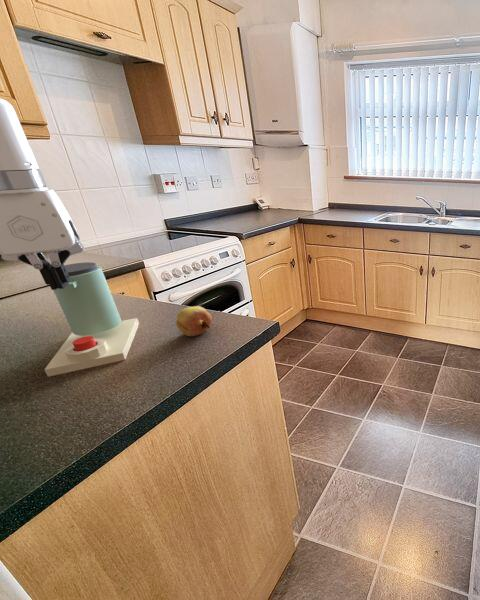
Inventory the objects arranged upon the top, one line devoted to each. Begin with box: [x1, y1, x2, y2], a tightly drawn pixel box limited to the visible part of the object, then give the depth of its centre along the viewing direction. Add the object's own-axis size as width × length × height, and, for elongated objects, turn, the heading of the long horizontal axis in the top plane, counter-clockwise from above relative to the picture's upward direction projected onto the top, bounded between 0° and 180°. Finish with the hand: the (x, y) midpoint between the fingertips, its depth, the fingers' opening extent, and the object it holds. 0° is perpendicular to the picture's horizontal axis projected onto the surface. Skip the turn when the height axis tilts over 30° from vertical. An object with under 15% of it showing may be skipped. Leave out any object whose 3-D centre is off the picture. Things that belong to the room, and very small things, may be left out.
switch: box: [72, 336, 97, 351], centre depth 67 cm, size 3×3×2 cm
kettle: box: [52, 261, 122, 336], centre depth 72 cm, size 12×8×14 cm
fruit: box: [175, 305, 213, 337], centre depth 78 cm, size 7×7×10 cm
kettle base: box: [44, 317, 140, 378], centre depth 73 cm, size 18×12×4 cm, turn 28°
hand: (60, 286), depth 62 cm, fingers closed
